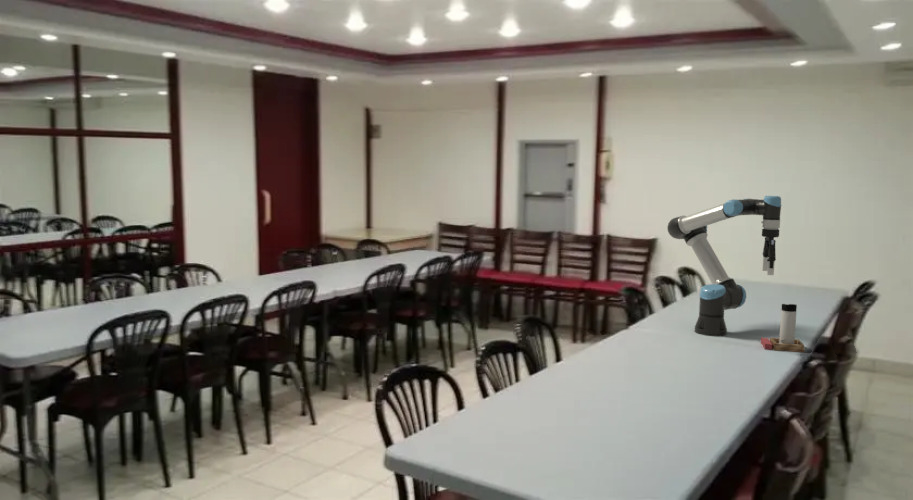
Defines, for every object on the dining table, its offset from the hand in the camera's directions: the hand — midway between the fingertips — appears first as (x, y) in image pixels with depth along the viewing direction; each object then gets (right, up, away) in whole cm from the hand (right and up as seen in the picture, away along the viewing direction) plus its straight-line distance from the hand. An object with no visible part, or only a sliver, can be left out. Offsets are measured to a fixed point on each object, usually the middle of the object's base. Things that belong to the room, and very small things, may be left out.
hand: (767, 272), depth 340 cm
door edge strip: (-6, -33, -12) cm, 36 cm away
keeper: (+2, -34, -15) cm, 37 cm away
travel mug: (+2, -33, -15) cm, 36 cm away
